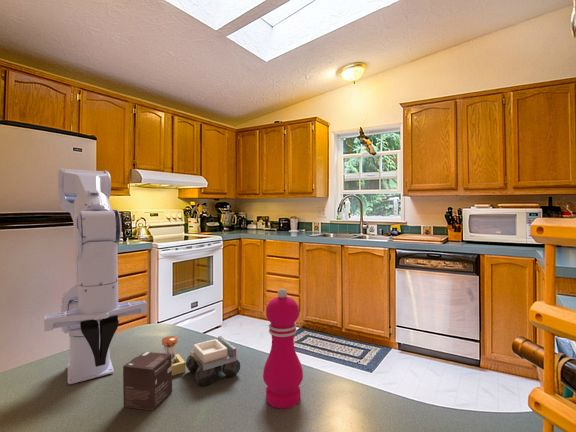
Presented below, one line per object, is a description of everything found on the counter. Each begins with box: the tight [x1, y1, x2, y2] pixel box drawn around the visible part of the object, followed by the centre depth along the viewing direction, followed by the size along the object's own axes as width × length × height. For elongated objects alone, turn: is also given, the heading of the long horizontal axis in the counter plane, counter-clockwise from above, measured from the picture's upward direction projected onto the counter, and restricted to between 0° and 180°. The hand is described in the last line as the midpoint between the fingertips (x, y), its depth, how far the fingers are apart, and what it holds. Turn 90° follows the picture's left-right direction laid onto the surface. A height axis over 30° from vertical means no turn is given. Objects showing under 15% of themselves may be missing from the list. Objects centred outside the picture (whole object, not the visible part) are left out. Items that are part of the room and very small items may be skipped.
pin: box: [161, 335, 179, 364], centre depth 68 cm, size 3×3×7 cm
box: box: [122, 351, 173, 411], centre depth 58 cm, size 6×6×7 cm
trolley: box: [185, 335, 241, 387], centre depth 67 cm, size 8×9×6 cm
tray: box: [193, 338, 227, 363], centre depth 66 cm, size 6×5×2 cm
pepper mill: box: [262, 288, 304, 409], centre depth 58 cm, size 7×7×20 cm
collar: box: [172, 353, 187, 377], centre depth 68 cm, size 5×5×2 cm
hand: (100, 363), depth 53 cm, fingers closed
